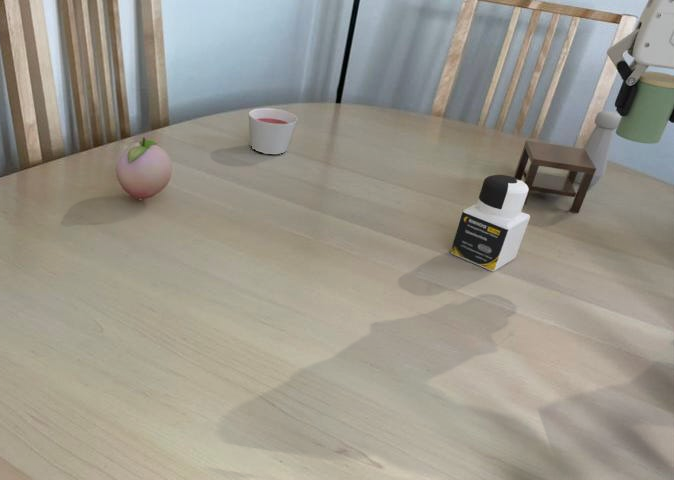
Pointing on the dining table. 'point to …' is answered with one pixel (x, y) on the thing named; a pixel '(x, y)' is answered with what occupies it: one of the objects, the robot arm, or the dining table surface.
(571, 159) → the stand
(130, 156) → the decorative fruit
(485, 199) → the medicine bottle
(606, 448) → the dining table surface
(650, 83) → the tea tin
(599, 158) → the salt shaker
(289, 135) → the candle
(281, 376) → the dining table surface
